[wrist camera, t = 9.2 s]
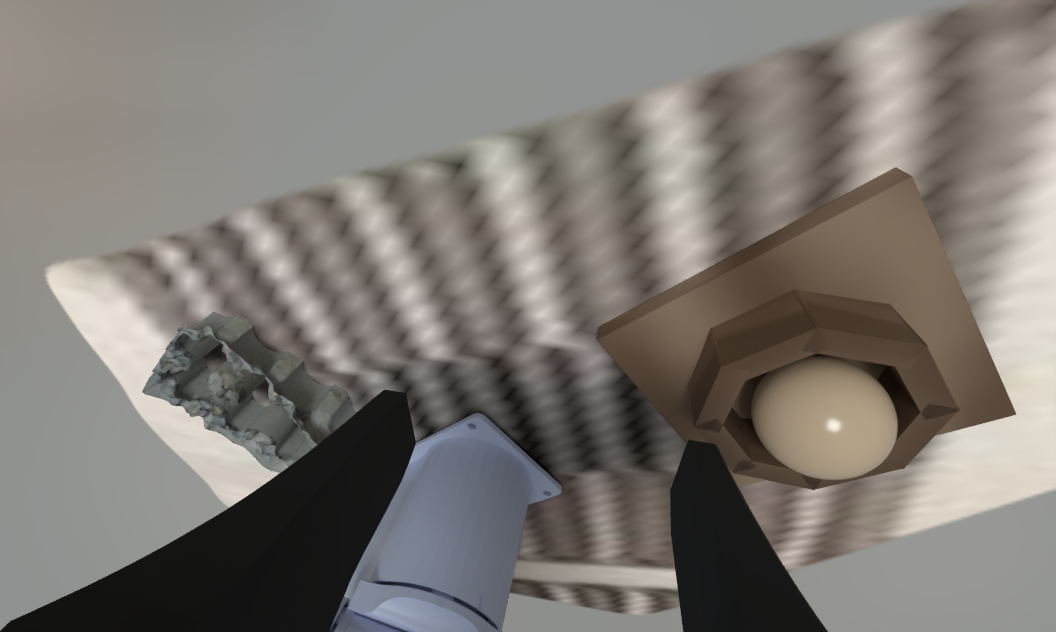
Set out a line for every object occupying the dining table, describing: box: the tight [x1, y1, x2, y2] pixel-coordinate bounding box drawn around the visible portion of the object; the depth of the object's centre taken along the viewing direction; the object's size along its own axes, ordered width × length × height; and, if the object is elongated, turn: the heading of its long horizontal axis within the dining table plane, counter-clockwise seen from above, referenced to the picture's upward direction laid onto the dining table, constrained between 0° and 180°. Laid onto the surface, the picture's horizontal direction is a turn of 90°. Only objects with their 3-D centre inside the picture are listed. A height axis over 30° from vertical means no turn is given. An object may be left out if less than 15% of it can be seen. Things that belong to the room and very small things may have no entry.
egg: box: [751, 355, 898, 480], centre depth 16 cm, size 5×5×5 cm
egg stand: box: [597, 168, 1016, 490], centre depth 18 cm, size 12×12×4 cm
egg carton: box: [142, 312, 357, 472], centre depth 26 cm, size 11×8×4 cm
